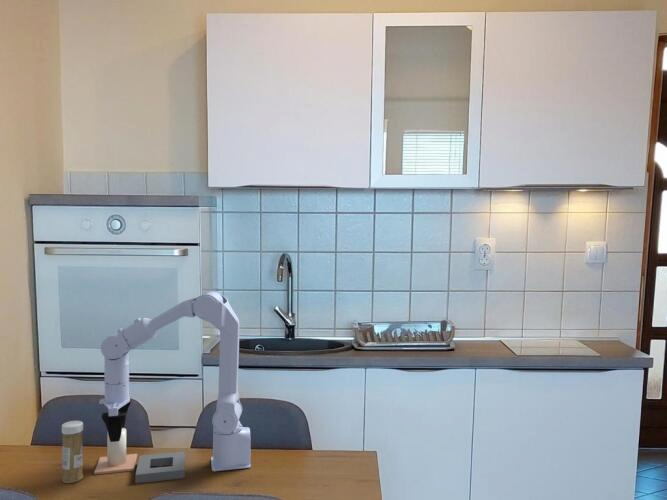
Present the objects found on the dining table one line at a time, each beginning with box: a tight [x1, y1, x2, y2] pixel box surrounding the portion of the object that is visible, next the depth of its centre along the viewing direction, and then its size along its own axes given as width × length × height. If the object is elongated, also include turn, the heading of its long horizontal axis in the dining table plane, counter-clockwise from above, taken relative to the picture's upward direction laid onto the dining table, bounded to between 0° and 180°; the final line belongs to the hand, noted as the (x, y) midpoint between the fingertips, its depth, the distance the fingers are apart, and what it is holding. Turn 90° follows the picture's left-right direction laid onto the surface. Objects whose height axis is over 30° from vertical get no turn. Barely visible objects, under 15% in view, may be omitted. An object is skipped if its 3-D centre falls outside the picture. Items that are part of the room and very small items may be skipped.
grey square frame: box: [135, 451, 186, 484], centre depth 129 cm, size 11×11×2 cm
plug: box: [106, 427, 127, 466], centre depth 132 cm, size 4×4×8 cm
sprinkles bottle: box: [61, 420, 84, 484], centre depth 124 cm, size 5×5×14 cm
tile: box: [93, 453, 138, 476], centre depth 132 cm, size 9×9×1 cm
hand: (117, 435), depth 132 cm, fingers open, 7 cm apart
